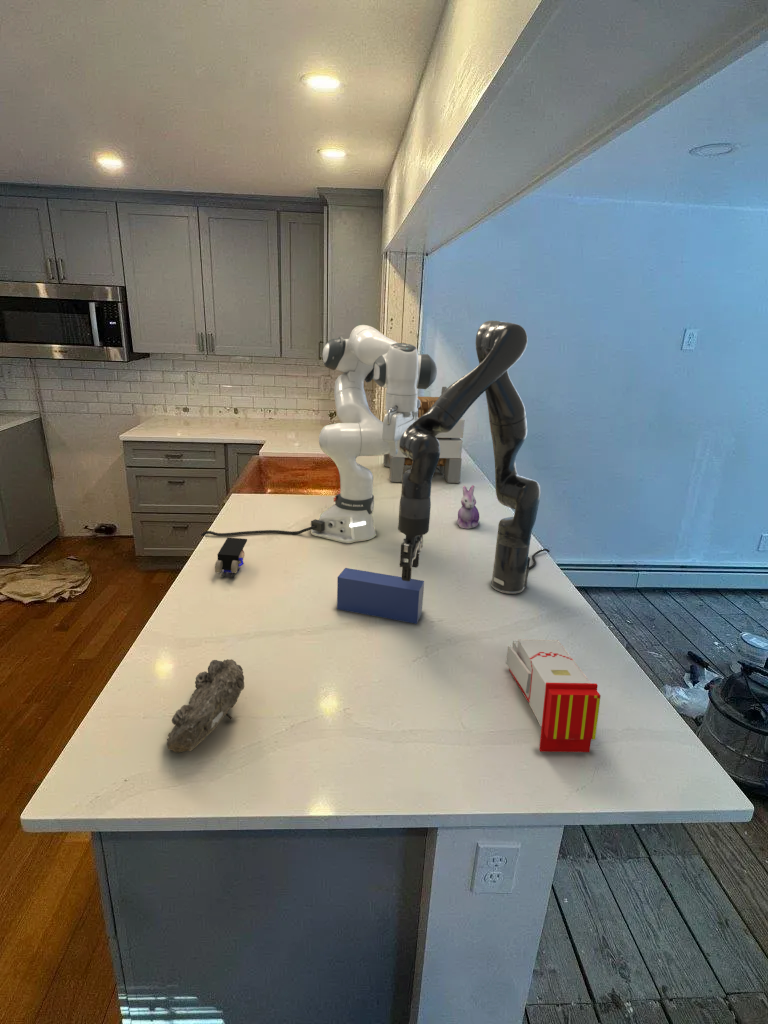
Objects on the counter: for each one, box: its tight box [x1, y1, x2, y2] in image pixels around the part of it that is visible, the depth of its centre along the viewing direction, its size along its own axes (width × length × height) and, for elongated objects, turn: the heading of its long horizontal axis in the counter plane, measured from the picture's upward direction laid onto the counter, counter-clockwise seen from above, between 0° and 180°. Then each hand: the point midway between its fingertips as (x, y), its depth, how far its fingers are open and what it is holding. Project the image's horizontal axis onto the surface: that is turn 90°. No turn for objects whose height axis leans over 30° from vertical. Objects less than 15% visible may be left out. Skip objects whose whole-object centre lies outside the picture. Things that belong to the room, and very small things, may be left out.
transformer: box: [383, 386, 465, 484], centre depth 268 cm, size 34×33×41 cm
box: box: [336, 567, 425, 625], centre depth 147 cm, size 22×6×9 cm, turn 74°
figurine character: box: [214, 537, 248, 578], centre depth 166 cm, size 7×8×15 cm
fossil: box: [166, 658, 245, 754], centre depth 106 cm, size 22×10×15 cm
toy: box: [505, 638, 602, 753], centre depth 114 cm, size 12×13×30 cm
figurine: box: [456, 484, 480, 530], centre depth 209 cm, size 9×10×15 cm
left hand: (399, 452), depth 164 cm, fingers open, 8 cm apart
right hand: (410, 573), depth 142 cm, fingers open, 8 cm apart
